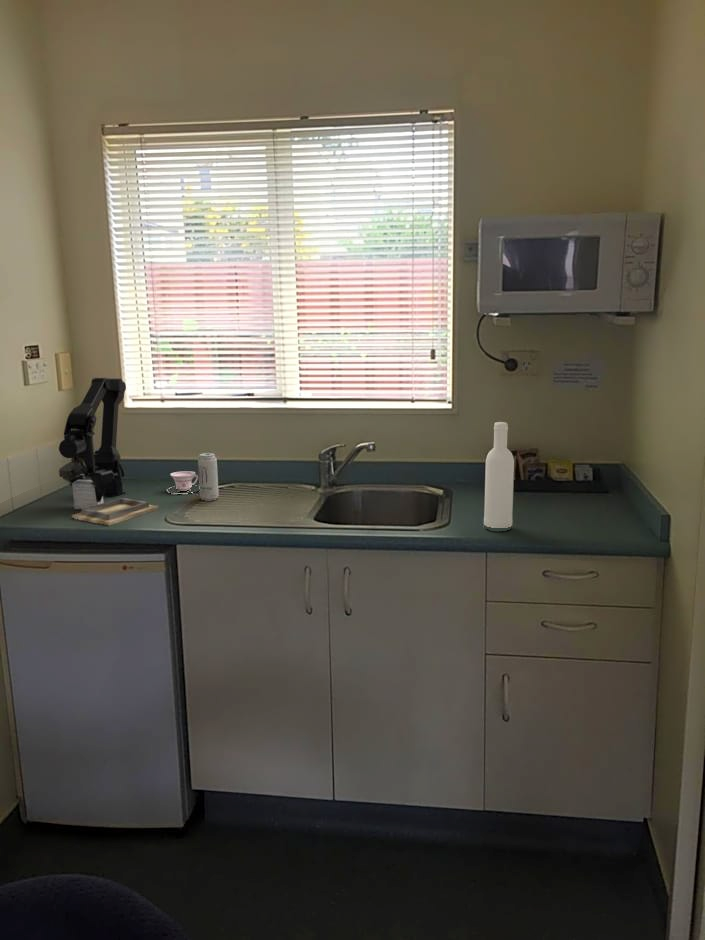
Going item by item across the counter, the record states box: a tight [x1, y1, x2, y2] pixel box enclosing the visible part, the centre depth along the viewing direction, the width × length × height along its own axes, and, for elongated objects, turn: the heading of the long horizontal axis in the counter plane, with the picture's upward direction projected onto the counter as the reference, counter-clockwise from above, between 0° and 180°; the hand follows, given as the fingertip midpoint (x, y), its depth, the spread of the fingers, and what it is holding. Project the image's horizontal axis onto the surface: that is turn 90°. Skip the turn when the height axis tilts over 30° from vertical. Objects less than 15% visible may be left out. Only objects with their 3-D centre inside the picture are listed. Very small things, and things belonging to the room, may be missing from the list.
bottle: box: [483, 421, 515, 528], centre depth 212 cm, size 8×8×30 cm
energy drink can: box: [197, 452, 220, 502], centre depth 249 cm, size 6×6×15 cm
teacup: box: [166, 470, 199, 495], centre depth 263 cm, size 12×12×6 cm
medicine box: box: [71, 479, 105, 510], centre depth 242 cm, size 8×4×9 cm, turn 84°
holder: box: [71, 497, 160, 526], centre depth 235 cm, size 16×20×2 cm
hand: (88, 500), depth 242 cm, fingers closed on medicine box, 9 cm apart
